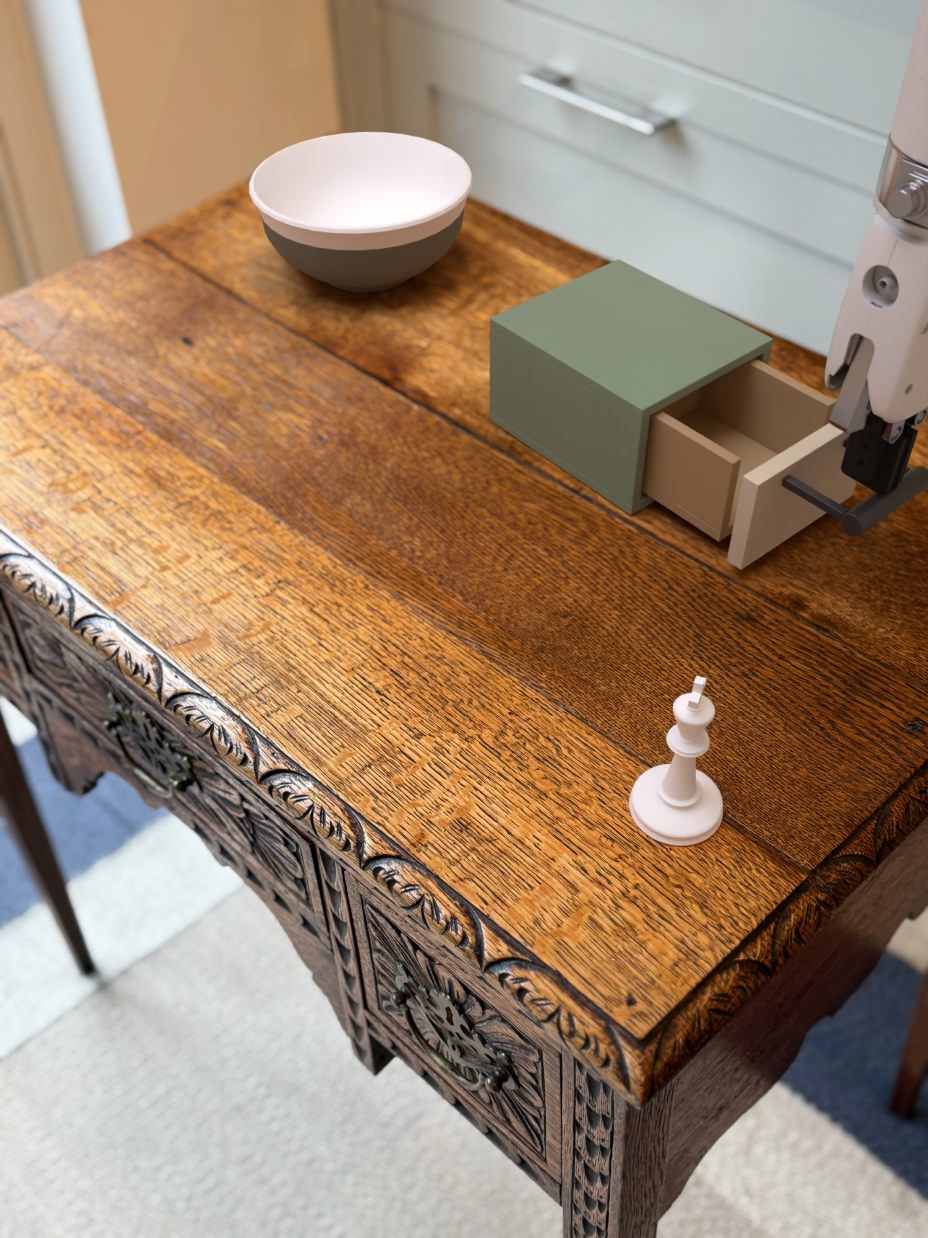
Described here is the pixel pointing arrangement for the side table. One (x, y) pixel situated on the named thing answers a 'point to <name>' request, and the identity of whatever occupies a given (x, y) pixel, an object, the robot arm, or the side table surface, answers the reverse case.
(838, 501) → the drawer
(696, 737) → the chess piece
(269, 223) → the bowl
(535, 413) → the cabinet
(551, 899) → the side table surface
